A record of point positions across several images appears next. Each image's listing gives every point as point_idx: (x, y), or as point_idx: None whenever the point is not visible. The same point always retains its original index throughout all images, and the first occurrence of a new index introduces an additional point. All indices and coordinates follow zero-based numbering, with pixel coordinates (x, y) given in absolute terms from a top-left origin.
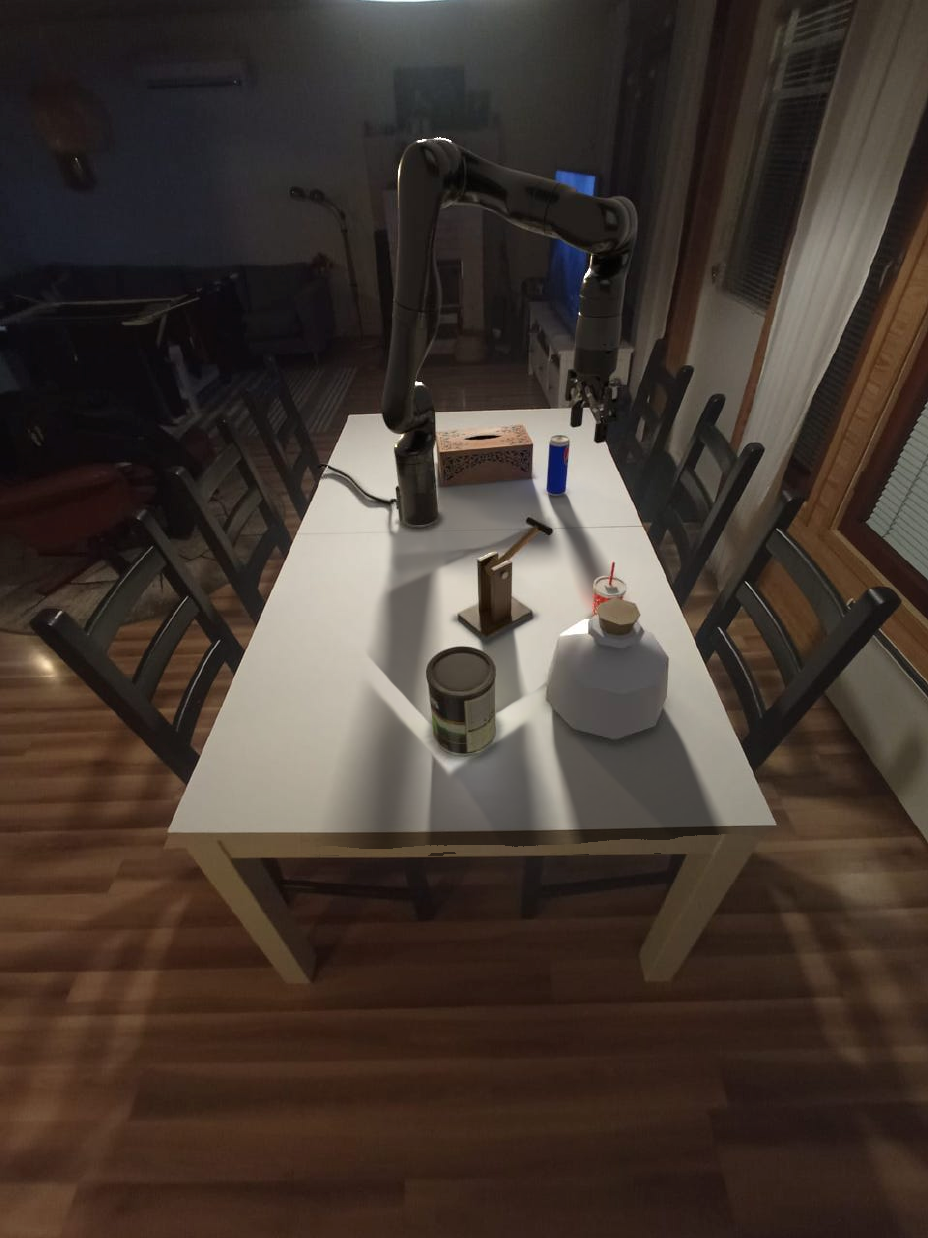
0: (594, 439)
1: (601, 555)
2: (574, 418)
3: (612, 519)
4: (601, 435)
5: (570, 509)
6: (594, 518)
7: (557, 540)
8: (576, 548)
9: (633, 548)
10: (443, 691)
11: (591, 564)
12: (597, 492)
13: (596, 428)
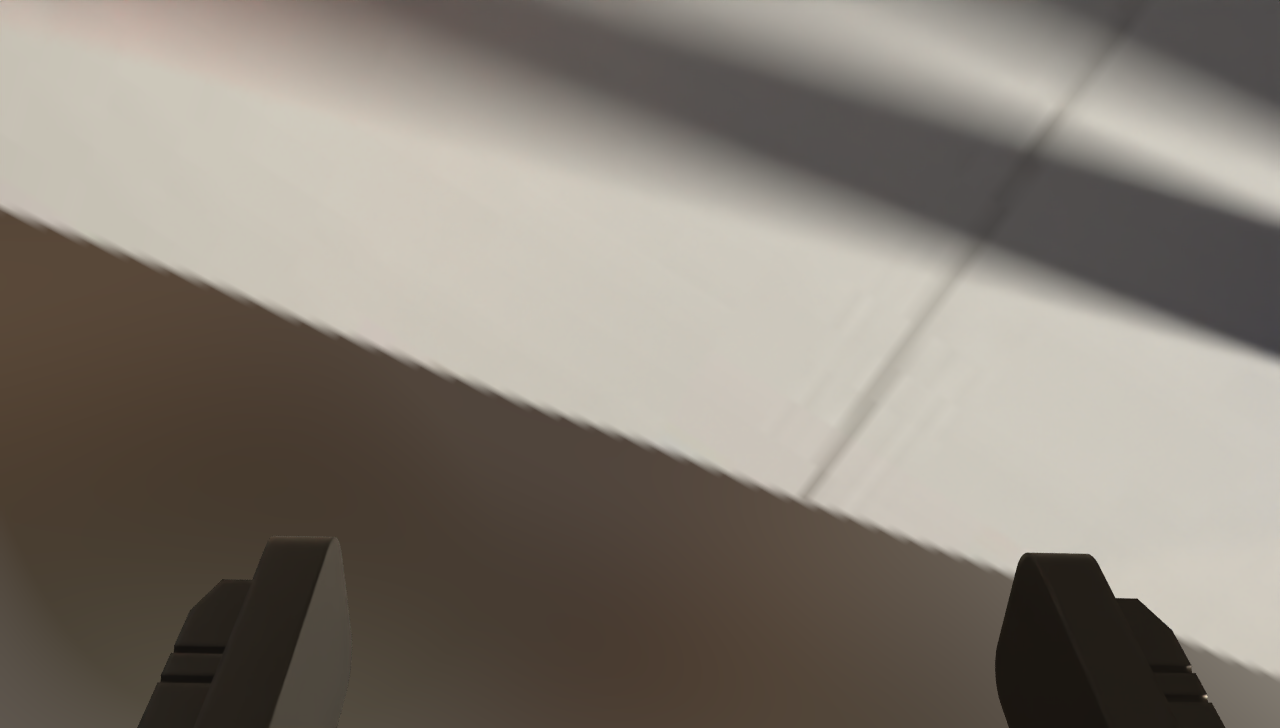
0: (304, 554)
1: (637, 186)
2: (1067, 676)
3: (933, 449)
4: (169, 664)
5: (1193, 310)
6: (1007, 373)
7: (937, 33)
8: (784, 93)
9: (613, 378)
10: None
11: (580, 77)
12: (1233, 540)
13: (231, 704)
